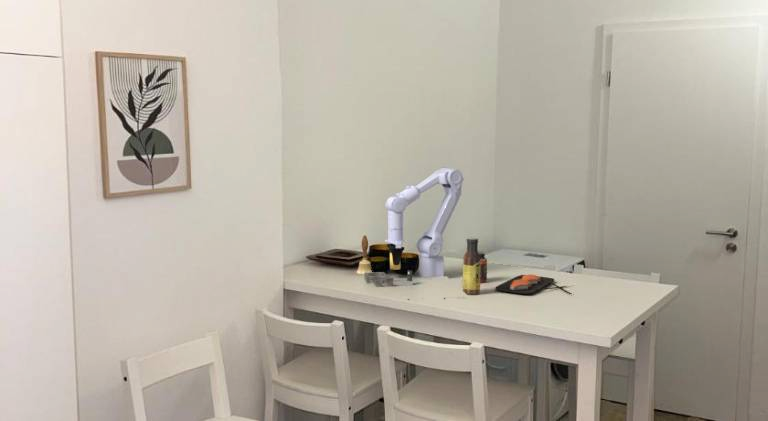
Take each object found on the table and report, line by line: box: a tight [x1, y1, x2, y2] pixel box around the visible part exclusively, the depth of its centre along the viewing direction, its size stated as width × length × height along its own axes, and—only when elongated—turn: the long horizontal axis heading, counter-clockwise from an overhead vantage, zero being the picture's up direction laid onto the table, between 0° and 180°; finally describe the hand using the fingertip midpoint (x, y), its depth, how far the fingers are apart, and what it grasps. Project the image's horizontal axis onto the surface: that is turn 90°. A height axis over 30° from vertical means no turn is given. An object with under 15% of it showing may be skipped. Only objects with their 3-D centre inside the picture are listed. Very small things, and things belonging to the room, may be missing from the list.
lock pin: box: [393, 270, 414, 286], centre depth 277 cm, size 8×2×5 cm, turn 99°
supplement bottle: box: [478, 251, 488, 284], centre depth 289 cm, size 6×6×11 cm
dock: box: [363, 271, 394, 288], centre depth 282 cm, size 17×17×4 cm
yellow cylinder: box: [389, 252, 401, 271], centre depth 287 cm, size 4×4×7 cm
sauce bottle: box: [462, 237, 481, 296], centre depth 269 cm, size 7×6×20 cm
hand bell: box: [355, 235, 374, 275], centre depth 298 cm, size 8×8×16 cm
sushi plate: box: [494, 274, 573, 295], centre depth 278 cm, size 29×30×4 cm
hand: (395, 263), depth 288 cm, fingers closed on yellow cylinder, 4 cm apart
